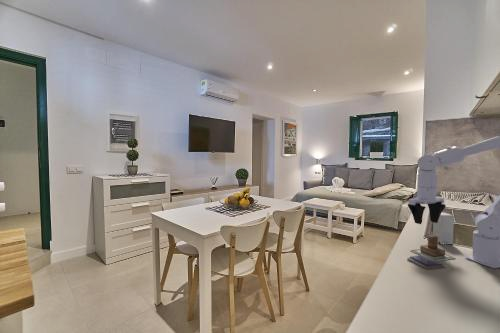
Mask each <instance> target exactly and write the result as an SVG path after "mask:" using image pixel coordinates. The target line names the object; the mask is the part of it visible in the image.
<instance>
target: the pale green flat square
mask: <svg viewBox="0 0 500 333" xmlns="http://www.w3.org/2000/svg"><path fill="white" fill-rule="evenodd" d="M410 252H411V253H414V254H416V255H417V256H420V255H424V256H426V257H429V258H431V259H433V260H436V261H438V262H441V261H447V260H448V261H449V260H455V259H456V257H455V256H452V255H449V254H447V253H445V256H440V257H432V256H430V255H427V254H425V253H422V252H421V250H420V248H419V249H418V248H417V249H411V250H410Z"/></svg>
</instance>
